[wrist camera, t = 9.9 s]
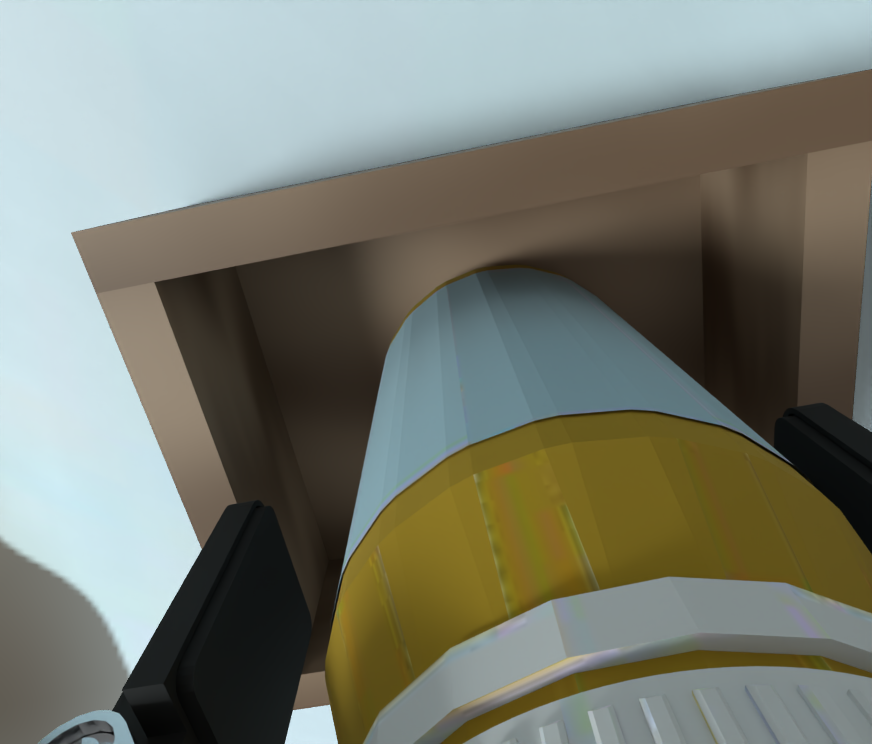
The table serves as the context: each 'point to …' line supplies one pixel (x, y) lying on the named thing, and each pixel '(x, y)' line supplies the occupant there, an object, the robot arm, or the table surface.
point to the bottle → (584, 546)
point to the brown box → (476, 248)
